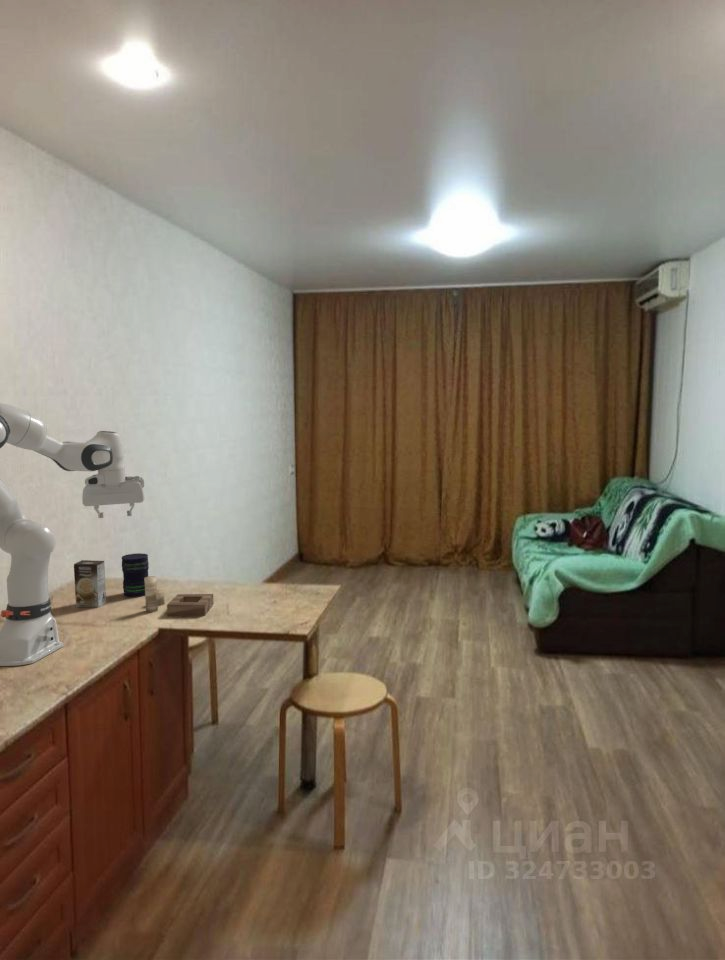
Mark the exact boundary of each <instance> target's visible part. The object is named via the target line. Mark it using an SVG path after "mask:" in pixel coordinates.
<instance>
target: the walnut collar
mask: <svg viewBox="0 0 725 960" xmlns="http://www.w3.org/2000/svg"><path fill="white" fill-rule="evenodd" d="M213 604H215V602H214V593H193V594H192V593H183V594H181V593H177V594H176V595H175V596H174V597H173V598H172V599H171V600H170V601H169V602H168V603H167V604H166V611H167V612H166V613H167V617H192V616H193V617H200V616H201V615H202V616H206V615H207V614H208V612H209V611H210V610H211V609H212V607H213V606H214V605H213ZM212 605H213V606H212ZM210 608H211V609H210ZM209 609H210V610H209ZM206 613H207V614H206ZM202 616H201V617H202Z"/></svg>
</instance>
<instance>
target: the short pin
mask: <svg viewBox="0 0 725 960" xmlns="http://www.w3.org/2000/svg"><path fill="white" fill-rule="evenodd" d="M157 603H158V606H159V607H160V606H164V605H165V604H166V603H165V590H164V589H160V588H159V589H157Z"/></svg>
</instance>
